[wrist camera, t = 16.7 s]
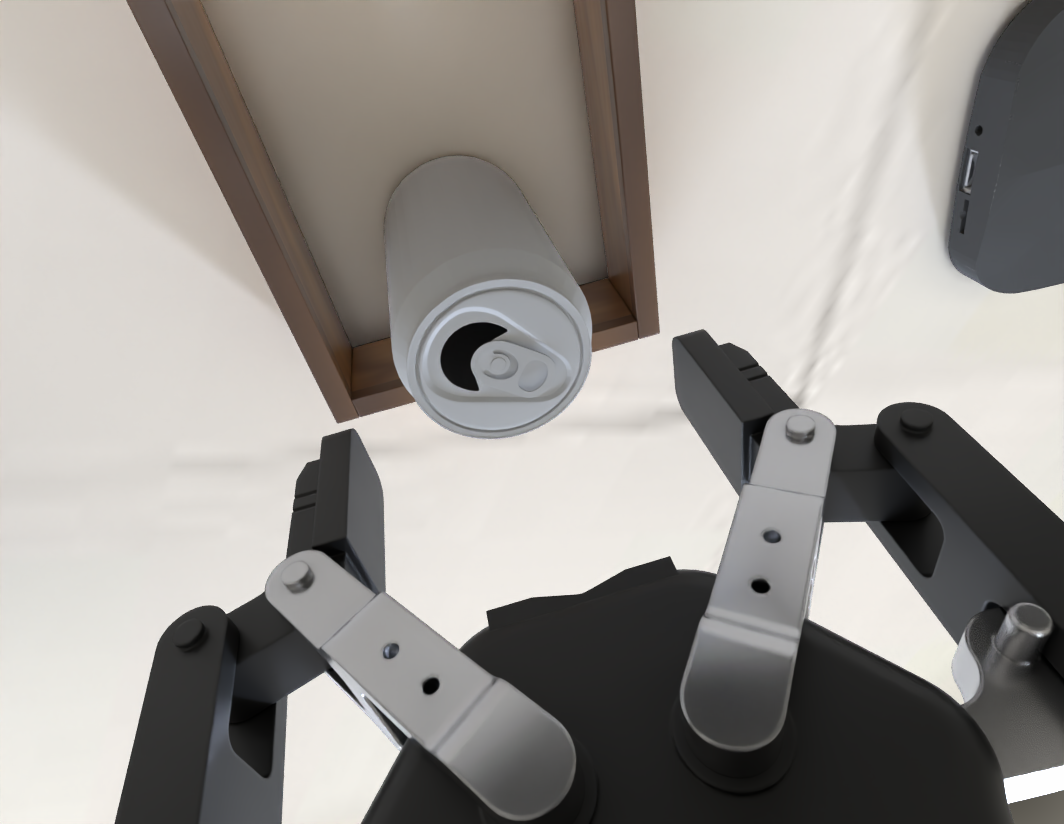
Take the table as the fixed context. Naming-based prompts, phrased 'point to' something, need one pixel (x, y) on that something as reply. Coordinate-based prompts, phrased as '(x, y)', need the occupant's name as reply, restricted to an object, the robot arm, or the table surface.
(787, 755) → the robot arm
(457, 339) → the beverage can
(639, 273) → the wooden tray
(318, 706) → the table surface
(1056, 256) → the media streaming box
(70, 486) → the table surface
